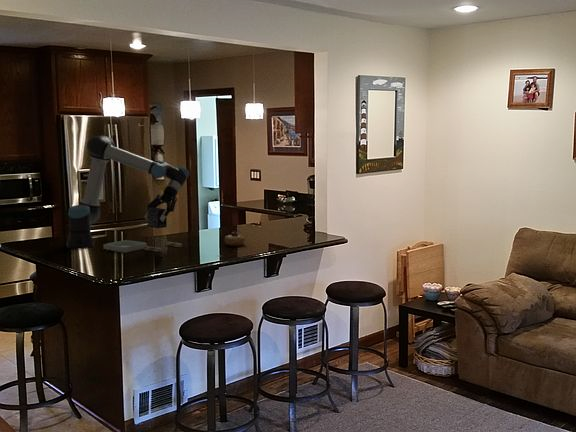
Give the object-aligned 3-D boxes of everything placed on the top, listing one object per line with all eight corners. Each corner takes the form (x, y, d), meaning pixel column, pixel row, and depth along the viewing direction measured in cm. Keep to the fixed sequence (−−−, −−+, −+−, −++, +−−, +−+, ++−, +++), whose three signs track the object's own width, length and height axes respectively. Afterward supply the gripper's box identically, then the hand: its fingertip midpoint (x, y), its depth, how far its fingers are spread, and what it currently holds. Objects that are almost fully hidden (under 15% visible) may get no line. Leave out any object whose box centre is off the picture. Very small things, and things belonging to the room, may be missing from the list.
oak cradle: (144, 249, 354) (144, 246, 353) (166, 244, 369) (166, 241, 369) (160, 252, 347) (160, 248, 347) (182, 247, 363) (182, 243, 362)
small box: (167, 227, 355) (167, 209, 353) (158, 228, 350) (157, 210, 349) (156, 225, 362) (156, 207, 361) (146, 226, 357) (146, 208, 356)
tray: (103, 249, 354) (103, 244, 353) (125, 245, 368) (125, 240, 367) (124, 252, 345) (124, 247, 344) (146, 248, 359) (146, 242, 358)
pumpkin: (220, 245, 371) (220, 230, 369) (235, 242, 379) (235, 227, 378) (234, 247, 363) (234, 232, 361) (249, 245, 371) (249, 230, 370)
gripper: (190, 195, 360) (172, 225, 350) (160, 192, 373) (141, 221, 362) (184, 186, 355) (165, 216, 344) (153, 184, 367) (134, 213, 357)
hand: (153, 219), depth 353 cm, fingers closed on small box, 11 cm apart
